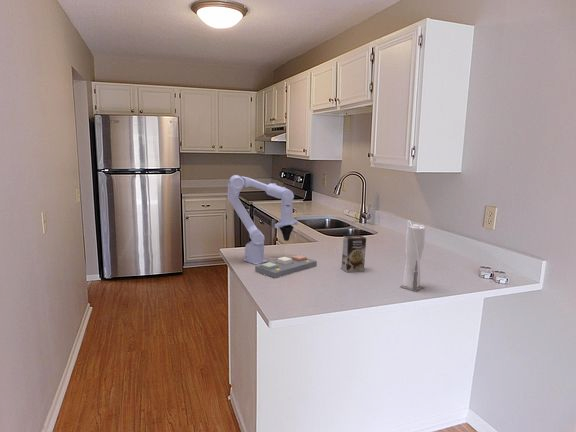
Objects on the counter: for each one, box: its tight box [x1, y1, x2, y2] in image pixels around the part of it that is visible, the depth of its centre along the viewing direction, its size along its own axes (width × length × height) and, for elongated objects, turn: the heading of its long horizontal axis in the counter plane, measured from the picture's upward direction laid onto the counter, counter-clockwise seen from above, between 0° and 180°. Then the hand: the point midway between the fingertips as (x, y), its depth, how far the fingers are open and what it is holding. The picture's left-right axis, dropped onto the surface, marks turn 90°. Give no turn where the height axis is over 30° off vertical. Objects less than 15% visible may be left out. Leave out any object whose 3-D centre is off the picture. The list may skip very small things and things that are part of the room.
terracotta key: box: [291, 254, 307, 262], centre depth 196 cm, size 5×5×3 cm
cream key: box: [276, 256, 292, 266], centre depth 189 cm, size 5×5×3 cm
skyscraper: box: [399, 219, 426, 293], centre depth 166 cm, size 8×8×28 cm
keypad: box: [254, 256, 318, 279], centre depth 188 cm, size 13×28×3 cm, turn 136°
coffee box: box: [341, 235, 367, 273], centre depth 188 cm, size 9×6×16 cm
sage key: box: [260, 261, 277, 270], centre depth 182 cm, size 5×5×3 cm
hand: (286, 240), depth 200 cm, fingers closed
